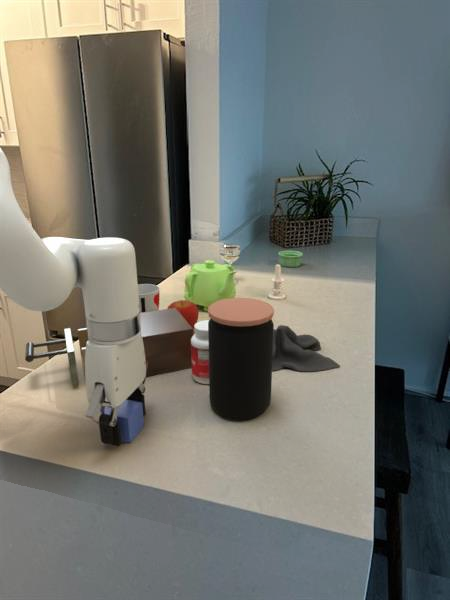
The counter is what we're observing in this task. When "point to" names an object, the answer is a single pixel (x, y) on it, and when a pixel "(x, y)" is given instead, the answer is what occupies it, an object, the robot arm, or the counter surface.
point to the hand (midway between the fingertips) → (124, 427)
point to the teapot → (209, 283)
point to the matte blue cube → (129, 419)
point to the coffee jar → (240, 357)
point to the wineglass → (230, 253)
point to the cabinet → (166, 341)
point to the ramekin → (290, 258)
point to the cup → (148, 297)
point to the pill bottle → (200, 352)
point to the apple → (186, 311)
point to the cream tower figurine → (277, 285)
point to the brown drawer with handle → (62, 351)
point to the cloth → (298, 352)
